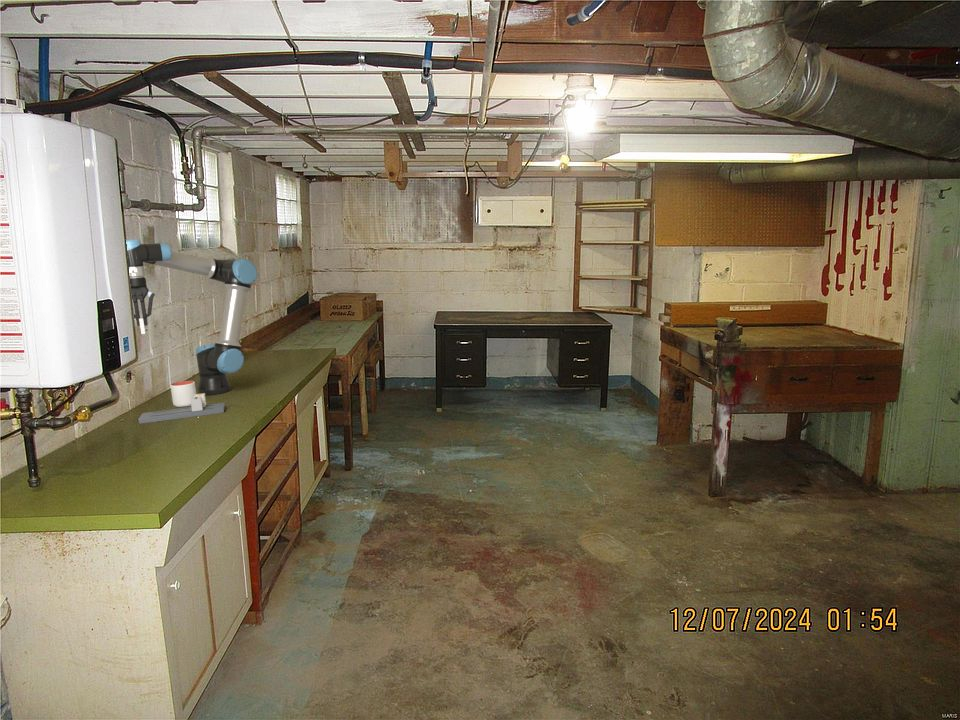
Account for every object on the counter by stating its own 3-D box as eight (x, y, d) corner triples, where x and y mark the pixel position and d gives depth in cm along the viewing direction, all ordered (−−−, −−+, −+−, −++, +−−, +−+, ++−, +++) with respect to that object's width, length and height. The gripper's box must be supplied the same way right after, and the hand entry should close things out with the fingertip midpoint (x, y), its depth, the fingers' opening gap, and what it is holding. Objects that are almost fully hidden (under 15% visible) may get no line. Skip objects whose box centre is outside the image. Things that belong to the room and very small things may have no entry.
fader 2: (192, 409, 268) (191, 397, 267) (203, 408, 269) (201, 396, 268) (192, 411, 264) (190, 399, 263) (202, 410, 265) (200, 398, 264)
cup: (176, 409, 279) (172, 386, 277) (171, 405, 287) (168, 383, 285) (200, 404, 285) (197, 382, 283) (194, 400, 293) (191, 379, 291)
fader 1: (196, 405, 273) (194, 394, 273) (206, 404, 275) (204, 392, 274) (195, 407, 270) (193, 396, 269) (205, 406, 271) (204, 394, 270)
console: (143, 417, 267) (142, 413, 267) (224, 407, 277) (224, 402, 277) (139, 423, 258) (138, 418, 258) (223, 412, 268) (223, 407, 268)
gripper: (115, 278, 259) (124, 336, 263) (151, 276, 263) (159, 333, 267) (119, 278, 266) (128, 334, 270) (153, 275, 270) (162, 331, 274)
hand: (143, 333), depth 269 cm, fingers closed
